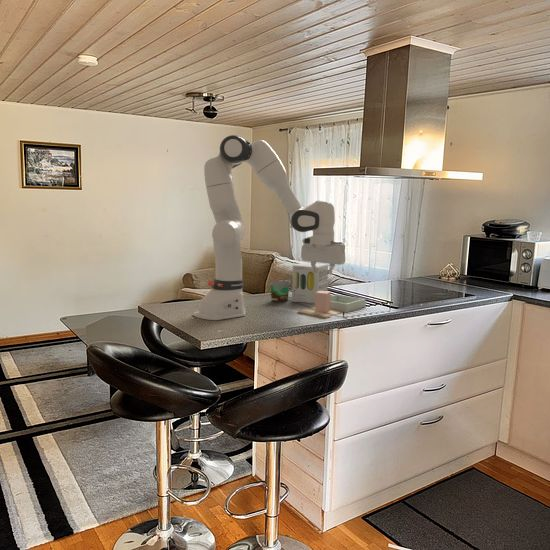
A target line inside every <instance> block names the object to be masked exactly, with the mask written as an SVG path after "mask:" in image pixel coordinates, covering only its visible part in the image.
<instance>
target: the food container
mask: <svg viewBox="0 0 550 550" xmlns="http://www.w3.org/2000/svg"><path fill="white" fill-rule="evenodd" d="M291 283H292V281H291V279H290V278H288V277H284V279H281V280H280V279H279V280H270V282H269V286H270V296H271V297H270V299H271V300H270V301H271V302H272V301H273V302H274V303H285V302H288V300H289V292H290V285H291ZM273 302H272V303H273Z"/></svg>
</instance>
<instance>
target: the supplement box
mask: <svg viewBox="0 0 550 550" xmlns="http://www.w3.org/2000/svg"><path fill="white" fill-rule="evenodd" d="M315 265H316V268H318V272H317V273H314V272H313V268H312V266H311V262H307V261H303V262H299V263H296V264H292V274H291V275H292V277H291V278H292V281H291V283H292V285H291V302H292V303H297V302H298V303H299V302H301V303H309V304H315V292H318V291H328V281H329V280H328V278H329V276H328V275H329V274H327V270H329V263H320V262H316V264H315Z"/></svg>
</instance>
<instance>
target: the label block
mask: <svg viewBox="0 0 550 550" xmlns="http://www.w3.org/2000/svg"><path fill="white" fill-rule="evenodd" d="M331 293H332V292H331V291H328V290H327V291H318V292H315V303H314V307H315V311H319V312H328V311H329V310H330V299H331V296H332V295H331Z"/></svg>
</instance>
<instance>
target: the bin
mask: <svg viewBox="0 0 550 550" xmlns="http://www.w3.org/2000/svg"><path fill="white" fill-rule="evenodd" d="M366 304H367V303H366V298H362V297H361V298H360V297H355V296H349V295H344V294H337V293H336V294H333V295H331V299H330V309H333V310H338V311H344V312H343V313H349V312H352V311H355V310H359V309H362V308H365V307H366Z"/></svg>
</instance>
